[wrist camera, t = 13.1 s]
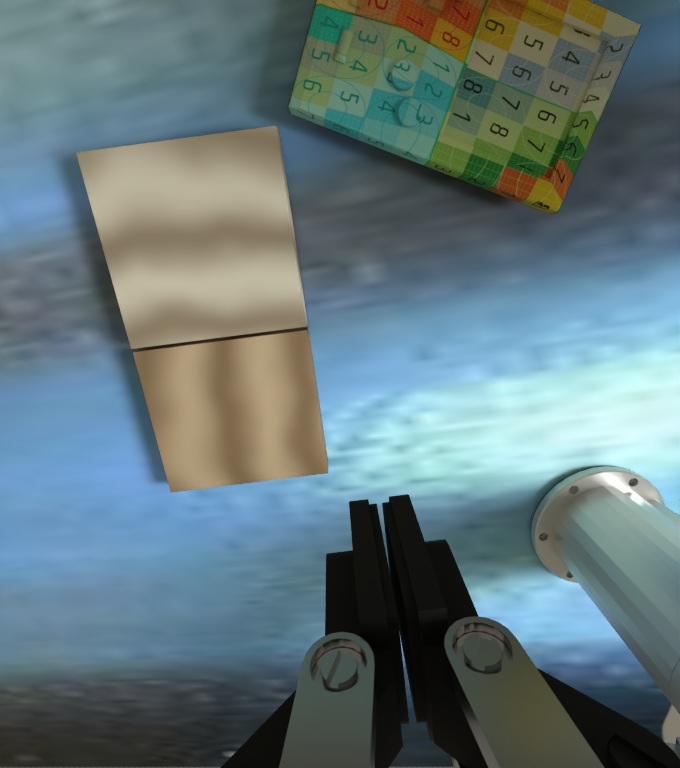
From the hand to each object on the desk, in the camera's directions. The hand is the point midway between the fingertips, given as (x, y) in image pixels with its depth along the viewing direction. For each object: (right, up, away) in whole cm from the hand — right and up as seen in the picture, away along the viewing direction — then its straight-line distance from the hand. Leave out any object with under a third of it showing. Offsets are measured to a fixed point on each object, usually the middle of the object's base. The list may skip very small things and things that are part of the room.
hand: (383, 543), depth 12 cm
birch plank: (-12, +15, +21) cm, 29 cm away
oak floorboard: (-10, +2, +25) cm, 27 cm away
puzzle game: (+7, +26, +19) cm, 33 cm away
